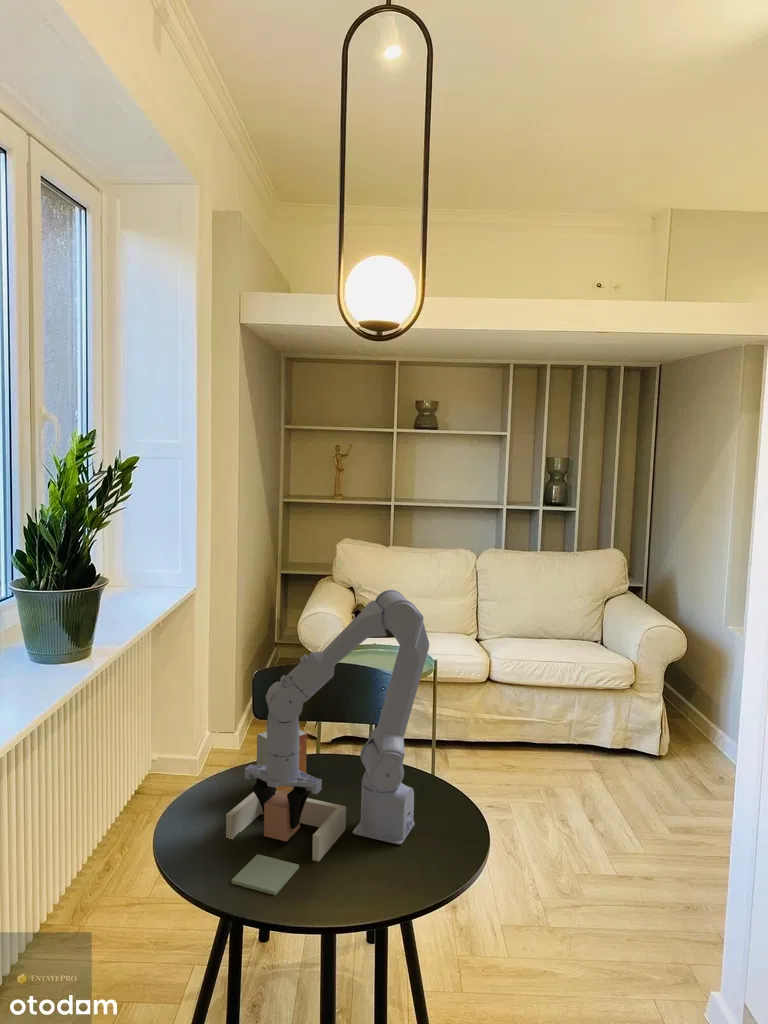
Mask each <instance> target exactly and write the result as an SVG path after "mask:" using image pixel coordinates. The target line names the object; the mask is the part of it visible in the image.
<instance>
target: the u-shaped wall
mask: <svg viewBox="0 0 768 1024" xmlns="http://www.w3.org/2000/svg"><path fill="white" fill-rule="evenodd" d="M277 792H278V791H276V793H277ZM346 814H347V806H346V805H340V804H338V803H337V804H336V803H332V802H327V801H323V800H319V799H314V798H309V797H308V798H307V800H306V802H305V804H304V807H303V810H302V813H301V817H300V824H304V825H307V826H310V827H311V826H312V827H315V828H318V829H316V831H315V832H314V833H313V834H312V854H311V855H312V858H311V859H312V861H313V862H320V861H321V860H322V859H323V857H324V856H325V855H326V854H327V853H328V852H329V850H330V849H331V848H332V846H334V844H335V843H336V842H337V840H338V839H339V838H340V837H341V836H342V835H343V833H344V832H345V831H346V828H347V827H346V826H347V825H346V821H347V815H346ZM260 815H264V814H263V810H262V807H261V804H260V802H259V800H258V798H257V796H256V795H255V793H254V792H253V791H252V792H251V793H250V794H249V795H247V797H245V798H243V800H242V801H241V802H239V803H238V804H237V805H235V807H233V808H232V809H231V810H229V811H228V812H227V813H226V815H225V818H226V819H225V828H226V829H225V836H226V837H225V838H229V839H228V840H230V839H232V840H233V839H235V838H236V837H237V836H238V835H239V834H240V833H241V832H242V831H243V830H245V829H246V828H247V827H248V826H249V825H250V824H251V823H253V822H254V821H255V820H256V819H257V818H258V817H259V816H260ZM239 832H240V833H239ZM238 833H239V834H238ZM237 834H238V835H237ZM236 835H237V836H236ZM235 836H236V837H235ZM234 837H235V838H234Z"/></svg>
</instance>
